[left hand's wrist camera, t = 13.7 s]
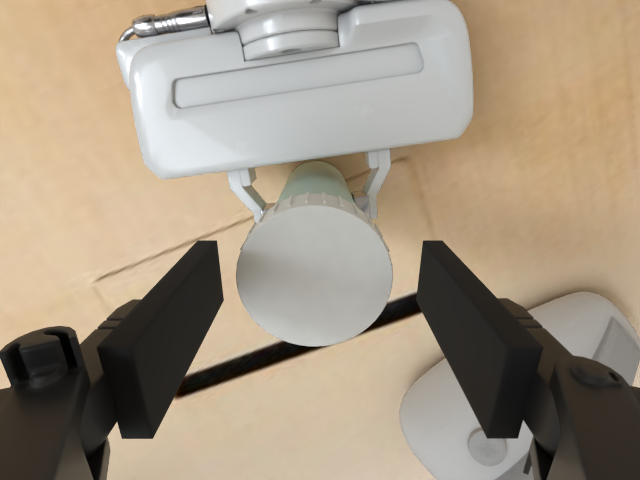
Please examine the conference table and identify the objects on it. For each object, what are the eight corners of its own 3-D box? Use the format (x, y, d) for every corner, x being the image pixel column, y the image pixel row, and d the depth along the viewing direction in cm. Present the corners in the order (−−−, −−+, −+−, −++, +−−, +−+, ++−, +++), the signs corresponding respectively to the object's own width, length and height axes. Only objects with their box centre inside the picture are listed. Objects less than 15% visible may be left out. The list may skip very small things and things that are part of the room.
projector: (582, 447, 41) (717, 616, 27) (390, 457, 41) (427, 629, 27) (628, 281, 33) (849, 399, 19) (392, 295, 33) (445, 420, 20)
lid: (306, 342, 17) (305, 372, 15) (215, 252, 16) (200, 272, 14) (412, 268, 16) (425, 291, 14) (324, 160, 14) (325, 167, 12)
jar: (312, 232, 31) (307, 352, 15) (273, 187, 30) (222, 268, 14) (359, 195, 30) (405, 284, 14) (320, 147, 29) (323, 185, 13)
